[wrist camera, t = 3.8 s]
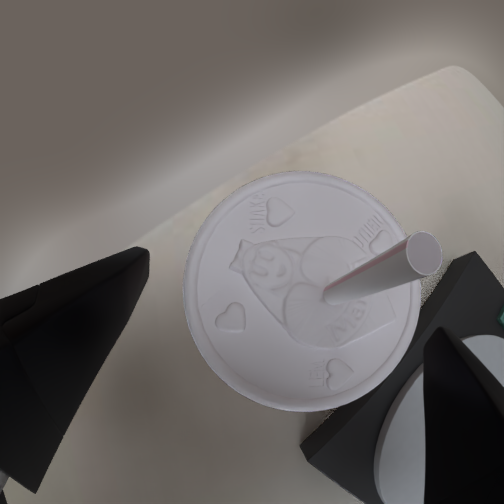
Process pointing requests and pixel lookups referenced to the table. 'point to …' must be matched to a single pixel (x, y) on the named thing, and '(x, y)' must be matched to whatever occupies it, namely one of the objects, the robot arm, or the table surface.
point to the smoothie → (304, 290)
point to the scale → (409, 394)
